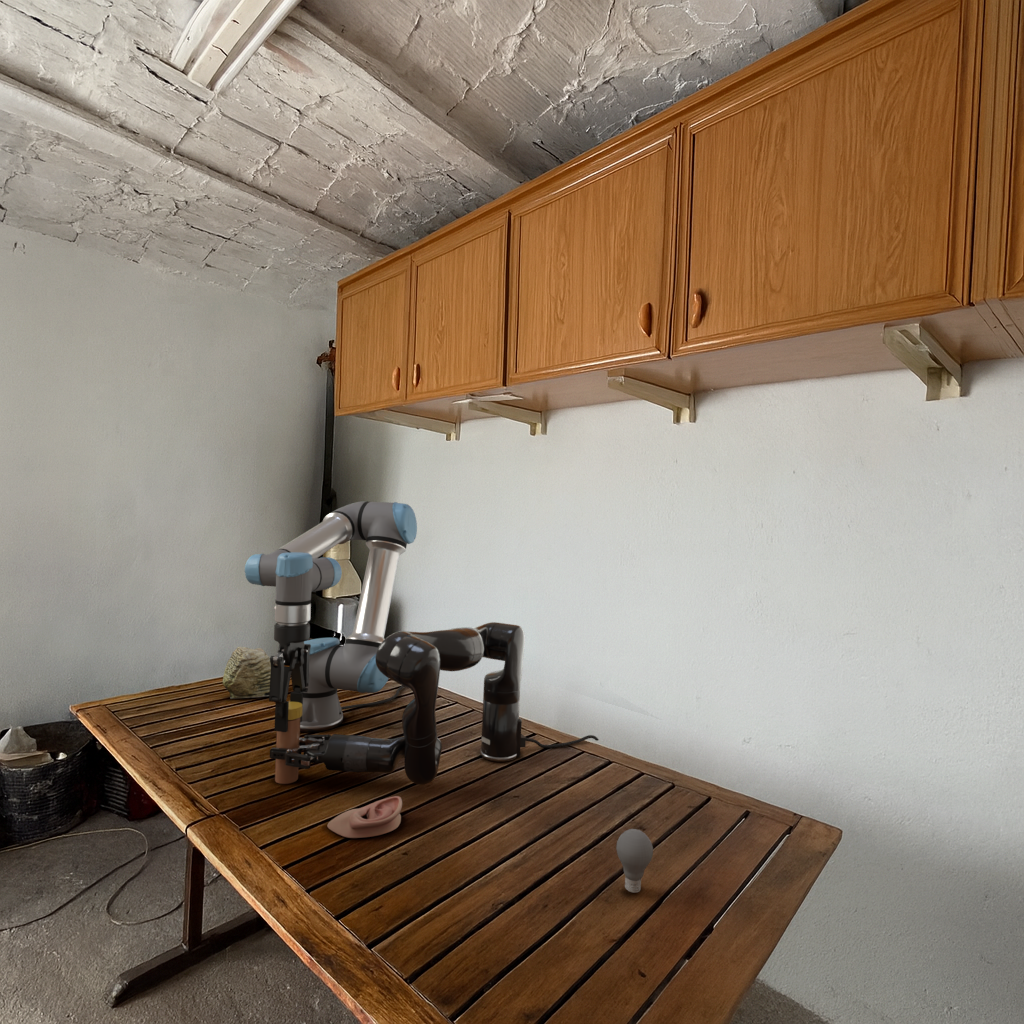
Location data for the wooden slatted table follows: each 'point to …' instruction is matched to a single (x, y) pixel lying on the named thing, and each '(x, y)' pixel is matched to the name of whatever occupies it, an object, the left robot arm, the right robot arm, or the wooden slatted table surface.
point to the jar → (288, 741)
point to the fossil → (248, 673)
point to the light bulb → (634, 857)
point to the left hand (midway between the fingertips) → (288, 725)
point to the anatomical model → (369, 819)
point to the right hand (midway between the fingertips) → (276, 748)
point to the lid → (294, 710)
